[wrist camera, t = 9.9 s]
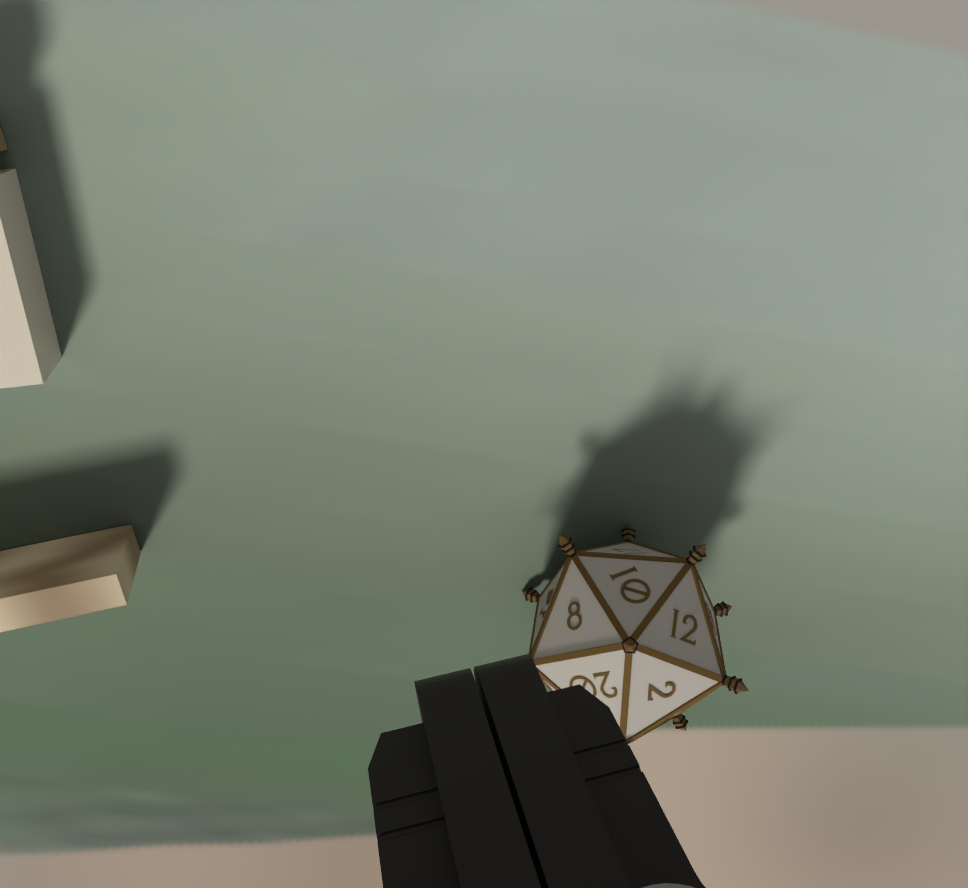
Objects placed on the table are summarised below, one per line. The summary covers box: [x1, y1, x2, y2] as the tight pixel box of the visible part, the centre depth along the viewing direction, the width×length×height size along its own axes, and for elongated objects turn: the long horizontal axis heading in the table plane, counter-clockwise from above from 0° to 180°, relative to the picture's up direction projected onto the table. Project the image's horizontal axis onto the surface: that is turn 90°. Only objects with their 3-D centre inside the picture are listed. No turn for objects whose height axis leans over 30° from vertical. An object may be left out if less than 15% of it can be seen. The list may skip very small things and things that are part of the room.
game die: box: [522, 523, 749, 745], centre depth 34 cm, size 9×8×10 cm
